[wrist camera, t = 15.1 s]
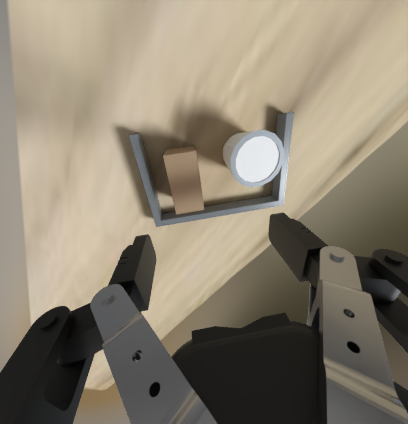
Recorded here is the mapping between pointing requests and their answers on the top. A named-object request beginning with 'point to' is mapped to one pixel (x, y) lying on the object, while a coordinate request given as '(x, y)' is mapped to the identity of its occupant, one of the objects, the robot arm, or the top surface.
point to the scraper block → (184, 179)
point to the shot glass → (254, 157)
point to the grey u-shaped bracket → (226, 208)
